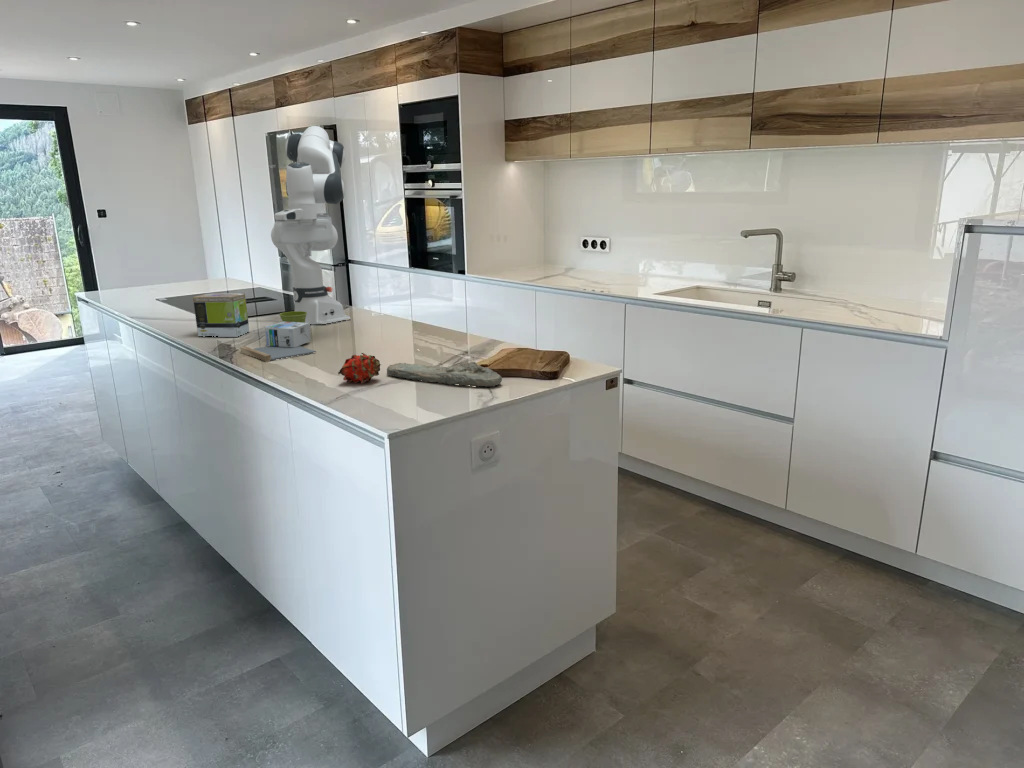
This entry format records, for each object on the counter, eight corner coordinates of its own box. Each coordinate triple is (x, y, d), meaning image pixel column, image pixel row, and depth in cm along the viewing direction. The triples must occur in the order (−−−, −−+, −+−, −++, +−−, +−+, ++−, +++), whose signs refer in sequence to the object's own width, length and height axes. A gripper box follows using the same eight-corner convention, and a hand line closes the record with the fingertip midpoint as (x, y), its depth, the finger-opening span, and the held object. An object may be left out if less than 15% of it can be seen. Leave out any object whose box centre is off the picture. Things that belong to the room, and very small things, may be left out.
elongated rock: (399, 374, 202) (380, 384, 193) (397, 357, 200) (377, 366, 192) (509, 380, 188) (493, 391, 179) (507, 361, 186) (491, 372, 178)
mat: (289, 344, 235) (289, 342, 235) (316, 352, 223) (315, 351, 223) (246, 351, 225) (246, 349, 225) (271, 360, 213) (271, 358, 213)
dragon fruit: (385, 384, 191) (344, 397, 186) (373, 362, 195) (332, 374, 190) (387, 365, 185) (344, 377, 180) (375, 342, 189) (332, 354, 184)
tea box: (250, 332, 256) (246, 292, 252) (237, 338, 247) (232, 296, 243) (211, 332, 258) (206, 292, 254) (197, 337, 248) (191, 296, 244)
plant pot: (301, 340, 242) (299, 316, 240) (276, 339, 244) (274, 315, 241) (313, 335, 251) (311, 311, 248) (289, 334, 253) (287, 310, 250)
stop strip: (245, 351, 225) (245, 346, 225) (271, 360, 213) (270, 355, 212) (240, 352, 224) (240, 347, 223) (266, 361, 212) (265, 355, 211)
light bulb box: (293, 328, 225) (263, 326, 228) (294, 348, 227) (265, 346, 230) (310, 322, 235) (281, 320, 238) (311, 341, 237) (283, 339, 240)
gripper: (326, 213, 238) (329, 253, 242) (269, 214, 224) (273, 257, 228) (335, 213, 234) (338, 255, 237) (278, 214, 220) (282, 259, 224)
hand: (306, 256), depth 233 cm, fingers closed
